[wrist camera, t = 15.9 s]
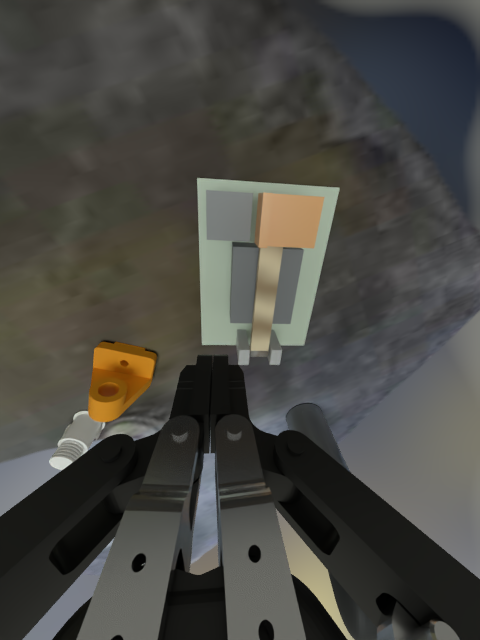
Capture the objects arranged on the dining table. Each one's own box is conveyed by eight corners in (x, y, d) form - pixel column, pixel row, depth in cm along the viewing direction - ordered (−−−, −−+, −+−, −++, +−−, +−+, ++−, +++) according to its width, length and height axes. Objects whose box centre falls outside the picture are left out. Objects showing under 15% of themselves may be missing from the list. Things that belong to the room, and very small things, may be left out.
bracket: (158, 350, 45) (139, 396, 35) (153, 377, 48) (133, 427, 38) (101, 338, 43) (62, 383, 33) (99, 366, 46) (62, 416, 36)
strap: (266, 353, 40) (267, 358, 38) (249, 353, 39) (250, 358, 38) (285, 208, 29) (289, 209, 27) (262, 207, 29) (264, 208, 27)
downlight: (102, 409, 52) (75, 452, 43) (111, 429, 55) (88, 472, 46) (67, 410, 52) (33, 453, 43) (78, 430, 55) (49, 474, 46)
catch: (307, 244, 30) (317, 250, 26) (254, 242, 29) (258, 247, 26) (316, 197, 27) (329, 196, 24) (258, 193, 26) (263, 192, 23)
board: (300, 339, 46) (316, 366, 39) (202, 339, 45) (199, 367, 37) (333, 188, 34) (365, 185, 26) (198, 179, 32) (191, 172, 25)
